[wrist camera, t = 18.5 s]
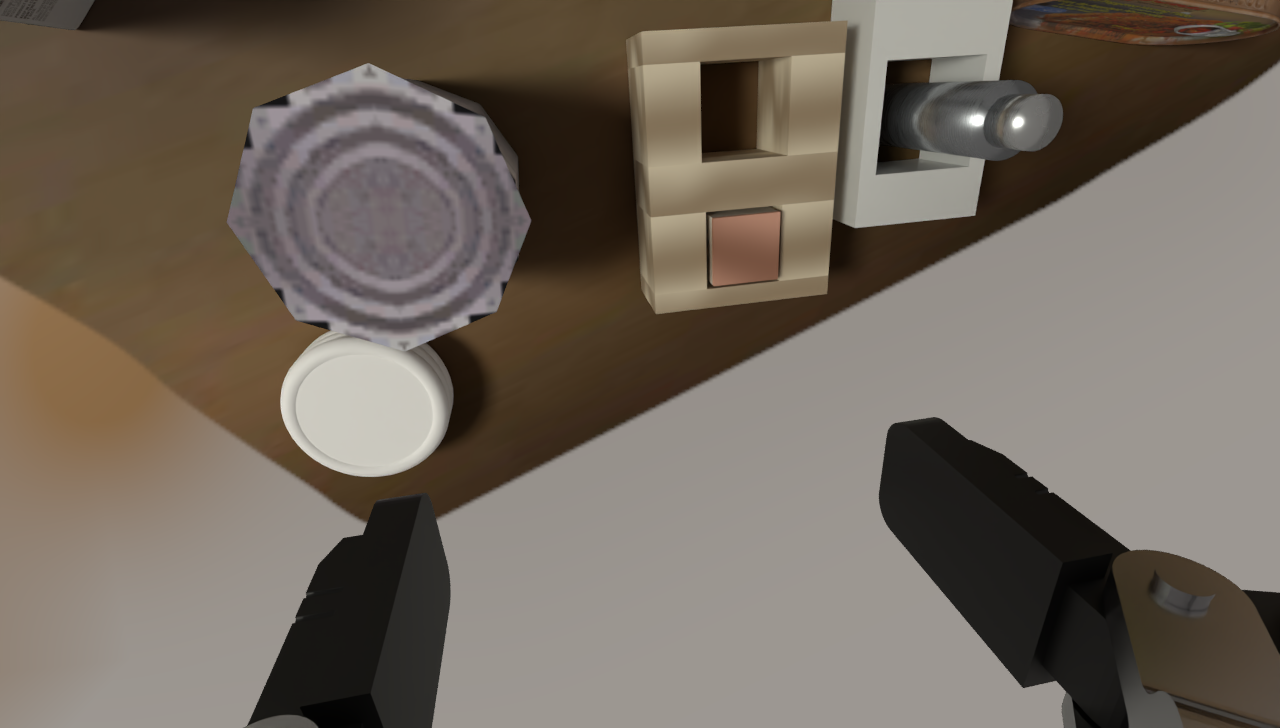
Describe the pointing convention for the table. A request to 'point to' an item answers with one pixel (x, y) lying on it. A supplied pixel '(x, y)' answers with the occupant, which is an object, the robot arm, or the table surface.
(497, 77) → the table surface
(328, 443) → the white round container
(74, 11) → the coffee box
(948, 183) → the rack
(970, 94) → the stepped metal cylinder
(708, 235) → the key
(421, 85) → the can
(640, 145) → the socket block
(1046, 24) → the tin
